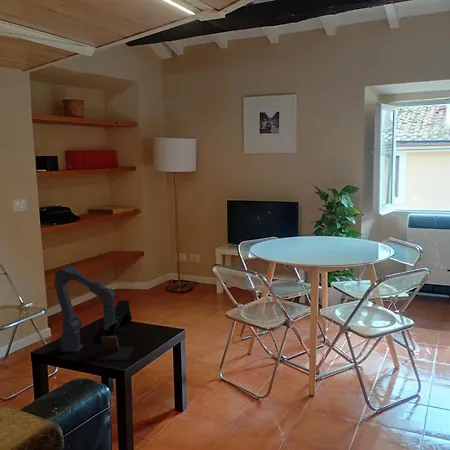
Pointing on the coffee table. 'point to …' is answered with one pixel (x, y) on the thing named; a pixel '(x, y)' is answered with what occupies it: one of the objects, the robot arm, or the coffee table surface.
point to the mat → (115, 354)
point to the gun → (121, 315)
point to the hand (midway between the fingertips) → (110, 338)
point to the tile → (109, 343)
